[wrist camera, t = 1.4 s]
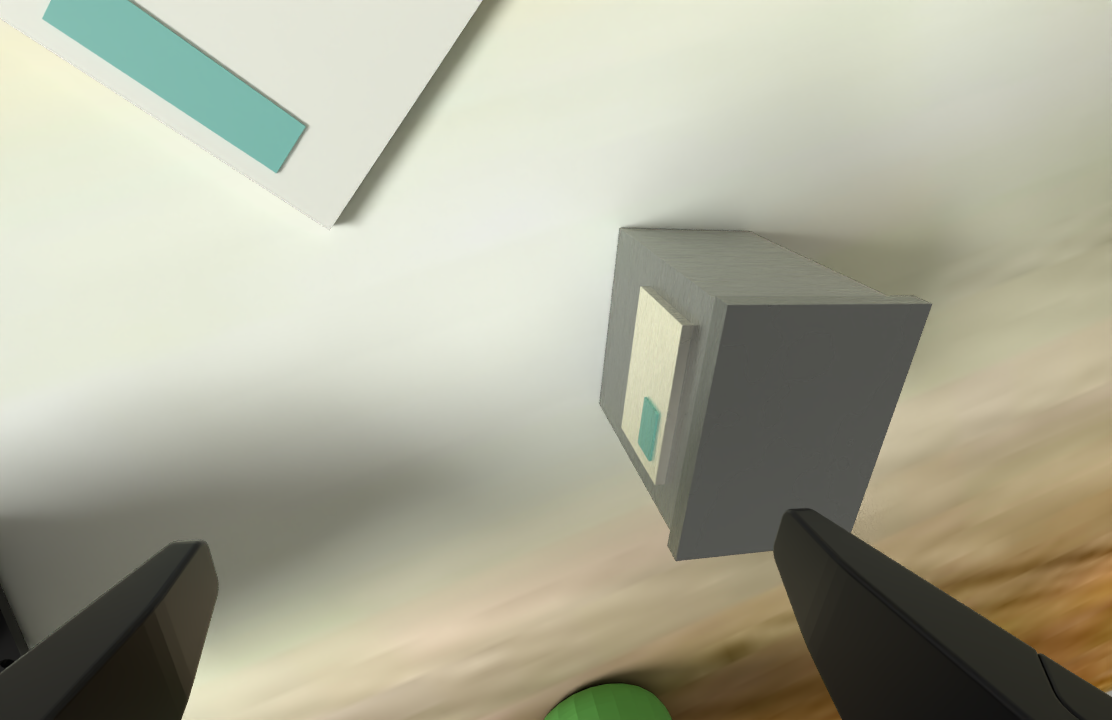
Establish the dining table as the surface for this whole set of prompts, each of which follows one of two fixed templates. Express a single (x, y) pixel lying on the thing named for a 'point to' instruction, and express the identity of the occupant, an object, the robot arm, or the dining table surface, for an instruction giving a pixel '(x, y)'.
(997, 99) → the dining table surface
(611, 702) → the wine bottle
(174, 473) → the dining table surface
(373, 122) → the pad
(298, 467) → the dining table surface
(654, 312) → the box
